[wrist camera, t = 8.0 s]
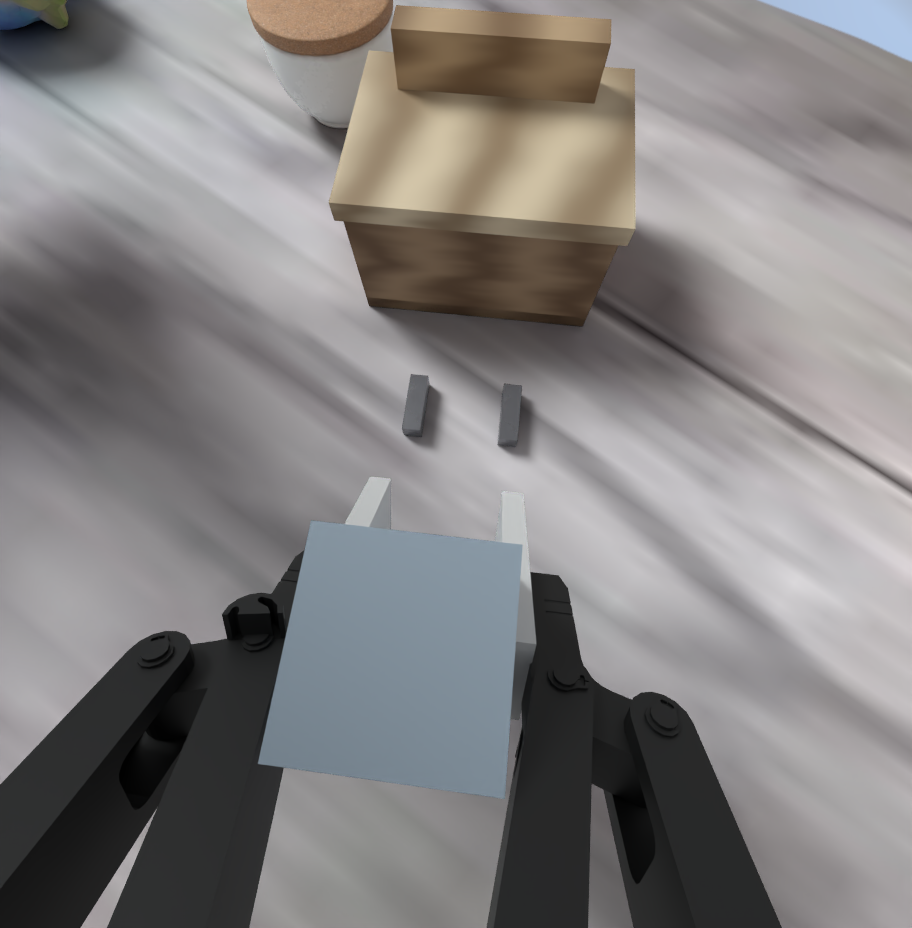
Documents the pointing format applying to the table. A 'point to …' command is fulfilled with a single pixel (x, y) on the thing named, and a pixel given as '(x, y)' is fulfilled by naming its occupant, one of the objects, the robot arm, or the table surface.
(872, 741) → the table surface
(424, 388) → the pair of grey bars
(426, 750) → the blue-grey block
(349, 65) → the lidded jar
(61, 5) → the globe
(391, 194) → the lid
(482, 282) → the toolbox
